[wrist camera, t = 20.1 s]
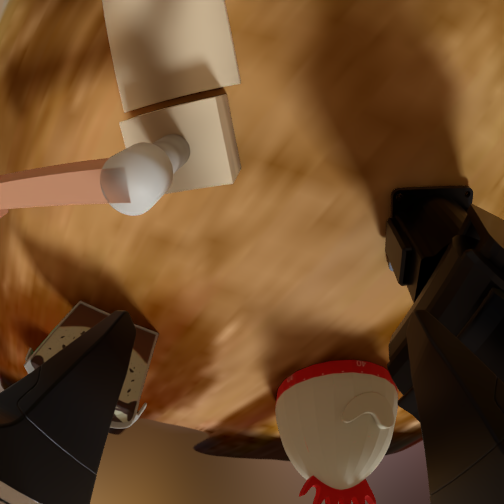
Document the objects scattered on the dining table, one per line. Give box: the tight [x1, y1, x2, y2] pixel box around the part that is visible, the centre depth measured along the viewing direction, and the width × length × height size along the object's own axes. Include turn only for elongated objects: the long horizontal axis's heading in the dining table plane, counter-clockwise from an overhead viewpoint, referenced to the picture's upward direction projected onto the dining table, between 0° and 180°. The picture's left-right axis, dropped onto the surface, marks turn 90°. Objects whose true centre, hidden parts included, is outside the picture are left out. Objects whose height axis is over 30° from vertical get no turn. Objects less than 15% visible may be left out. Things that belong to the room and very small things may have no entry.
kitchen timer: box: [276, 360, 398, 504], centre depth 26 cm, size 14×14×15 cm
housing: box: [102, 0, 241, 194], centre depth 13 cm, size 8×16×7 cm, turn 10°
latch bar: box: [0, 142, 173, 218], centre depth 13 cm, size 4×14×2 cm, turn 92°
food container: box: [24, 301, 159, 428], centre depth 27 cm, size 12×6×10 cm, turn 72°
